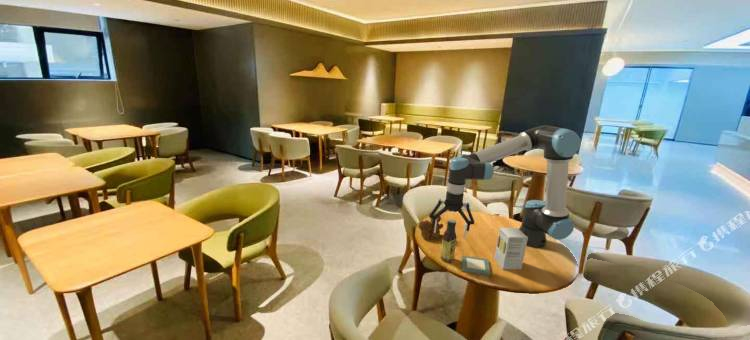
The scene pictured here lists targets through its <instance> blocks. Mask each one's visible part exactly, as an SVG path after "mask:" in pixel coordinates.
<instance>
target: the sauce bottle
mask: <svg viewBox="0 0 750 340" xmlns="http://www.w3.org/2000/svg"><path fill="white" fill-rule="evenodd" d="M446 224H447V225H446V229H445V231H444V232H443V234H442V235H443V239H442V241H441V242H442V243H441V251H440V259H441V261H443V262H446V263H452V262H453V261H454V258H455V252H456V245H457V244H456V243H457V240H458V239H457V233H456V226H457V221H456V219H455V220H454V219H448V220H447V221H446Z"/></svg>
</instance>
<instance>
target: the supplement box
mask: <svg viewBox="0 0 750 340" xmlns="http://www.w3.org/2000/svg"><path fill="white" fill-rule="evenodd" d="M498 231H499V232H498V236H497V243H496V248H495V253H494V260H495V262H497V264H498V265H499V267H500V268H501V269H502V270H522V267H523V263H524V257H525V252H526V249H527V240H528V237H527V236H526V235H525V234H523V233H522V232H521V231H520V230H519V227H499V230H498Z"/></svg>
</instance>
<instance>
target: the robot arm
mask: <svg viewBox="0 0 750 340" xmlns="http://www.w3.org/2000/svg"><path fill="white" fill-rule="evenodd" d="M580 147H581V139H580V137H579V134H577V133H576V132H575V131H573V130H571V129H568V128H565V127H557V126H553V125H541V126H540V125H539V126H537V127H533V128H530V129H527V130H525V131H522V132H520V133H519V135H517V136H515V137H512V138H509V139H507V140H504V141H502V142H499V143H497V144H493V145H491V146H488V147H486V148H483V149H480V150H478V151H475V152H472V153H469V154H466V153H464V154H463V153H462V154H459V155H458V156H456V157H452V158H451V159H450V163H449V168H448V169H449V172H448V178H447V179H448V181H447V185H446V190H447V191H446V194H445V200H443V199H442V198H438V201H437V204H436V205H435V207H434V208H433V209H432V211H431V212H429V213H430V216H429V215H428V217H429V218H432V219H433V223H432V225H433V226H435V228H434V233H436V225H437V218H438V217H439V216H440V217H441V215H443V214H444V213H445V212H447V211H449V212H453V213H456V212H458V214H460V216H461V217H462V219H463V221H465V223H464V230H463V238H464V239H466V237H467V232H469V231H470V226H472V225H475V219H474V217H473V214H472V211H471V209H470V202H467V203H466V202H465V203H464V201H463V200H464V196H465V195H464V194H465V187H466V181H467V180H470V181H471V180H474V181H475V180H476V181H477V180H479V181H480V180H481V181H484V180H485V181H486V180H491V179H492V178H493V176H494V173H495V171H494V169H495V168H494V166H493V164H492V163H494V162H497V161H499V160H502V159H505V158H507V157H510V156H512V155H515V154H517V153H520V152H523V151H532V150H535V149H536V150H537V149H538V150H543V159H544V160H546V179H545V180H546V181H545V183H546V185H545V201H544V200H539V199H530V200H527V201H526V202H525V205H524V209H523V215H522V221H521V225H520V227H518V229H519V230H520V231H521V232H522V233H523V234H525V235H526V236H527V237H528V240H527V245H526V247H531V248H543V247H546V245H547V242H548V241H547V235H548V237H550V238H553V239H554V240H556V241H557V240H559V241H560V240H564V239H566V238H567V237H569V236H570V235H571V234H572V233H573V232H574V228H575V224H574V222H573V221H572V220H571V219H570V210H568V209H567V195H568V193H567V192H568V182H569V181H568V179H569V178H568V177H569V167H570V165H569V163H570V161H571V160H573V159H574V156H575V155H577V154H578V151H579V150H580ZM443 204H444V206H443V208H441V209H440V210H439V208H440V207H441V206H442V205H443ZM463 207H464V209H466V212H467V215H468V217H469V218H468V217H467V215H466V214H465V213H464V211H463ZM437 210H438V212H437ZM435 213H436V214H435ZM434 214H435V215H434Z"/></svg>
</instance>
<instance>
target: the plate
mask: <svg viewBox="0 0 750 340" xmlns="http://www.w3.org/2000/svg"><path fill="white" fill-rule="evenodd" d="M461 271H462V272H463V273H464V272H465V273H470V272H471V273H472V274H475V275H482V276H487V277H491V267H490V263H489V259H486V258H481V257H476V256H470V255H464V254H462V255H461ZM471 273H470V274H471Z"/></svg>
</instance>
